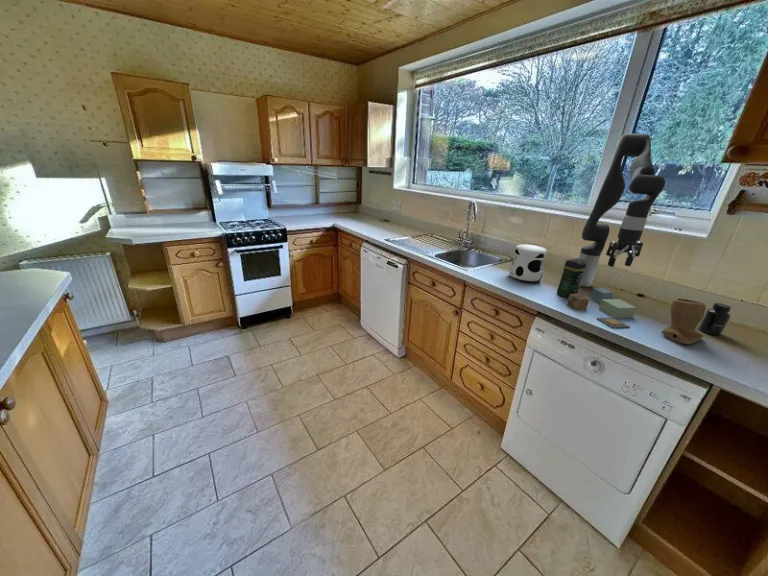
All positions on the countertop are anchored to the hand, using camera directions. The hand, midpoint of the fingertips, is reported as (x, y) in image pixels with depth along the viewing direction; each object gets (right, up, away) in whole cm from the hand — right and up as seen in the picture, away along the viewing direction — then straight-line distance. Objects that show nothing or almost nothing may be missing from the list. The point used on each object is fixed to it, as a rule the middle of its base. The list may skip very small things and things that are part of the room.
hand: (618, 266), depth 134 cm
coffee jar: (-7, -13, +25) cm, 30 cm away
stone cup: (+15, -28, -10) cm, 34 cm away
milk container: (-20, -4, +45) cm, 49 cm away
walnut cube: (-11, -18, +12) cm, 24 cm away
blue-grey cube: (+6, -16, +20) cm, 26 cm away
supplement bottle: (+33, -27, -5) cm, 43 cm away
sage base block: (+4, -21, +8) cm, 22 cm away
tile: (-4, -24, -2) cm, 24 cm away
